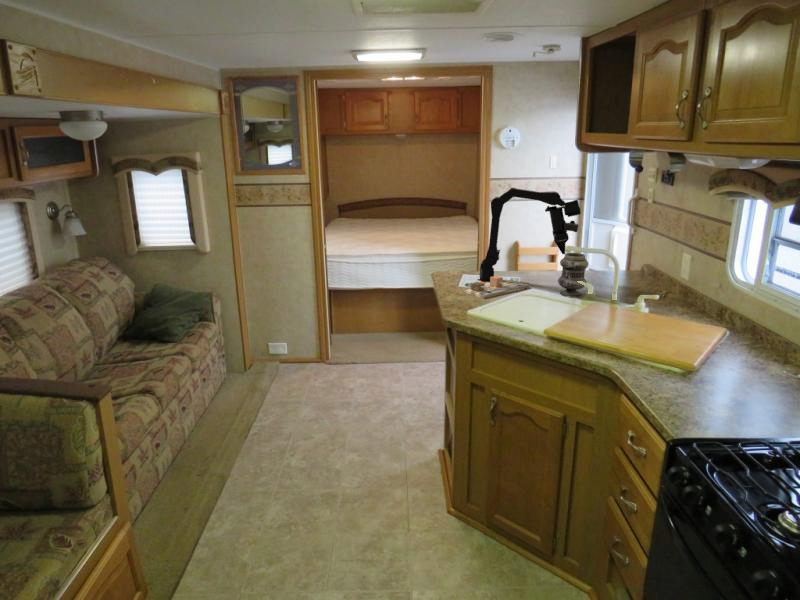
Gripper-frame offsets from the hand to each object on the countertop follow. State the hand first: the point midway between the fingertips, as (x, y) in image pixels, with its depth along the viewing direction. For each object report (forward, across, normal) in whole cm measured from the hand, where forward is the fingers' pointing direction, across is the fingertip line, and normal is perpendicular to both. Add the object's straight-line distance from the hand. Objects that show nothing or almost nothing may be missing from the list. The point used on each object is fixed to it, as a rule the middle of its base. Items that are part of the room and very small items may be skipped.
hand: (563, 252), depth 254 cm
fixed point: (+5, -25, +37) cm, 45 cm away
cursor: (+7, -15, +30) cm, 34 cm away
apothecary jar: (+16, -17, 0) cm, 23 cm away
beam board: (+8, -17, +31) cm, 36 cm away
